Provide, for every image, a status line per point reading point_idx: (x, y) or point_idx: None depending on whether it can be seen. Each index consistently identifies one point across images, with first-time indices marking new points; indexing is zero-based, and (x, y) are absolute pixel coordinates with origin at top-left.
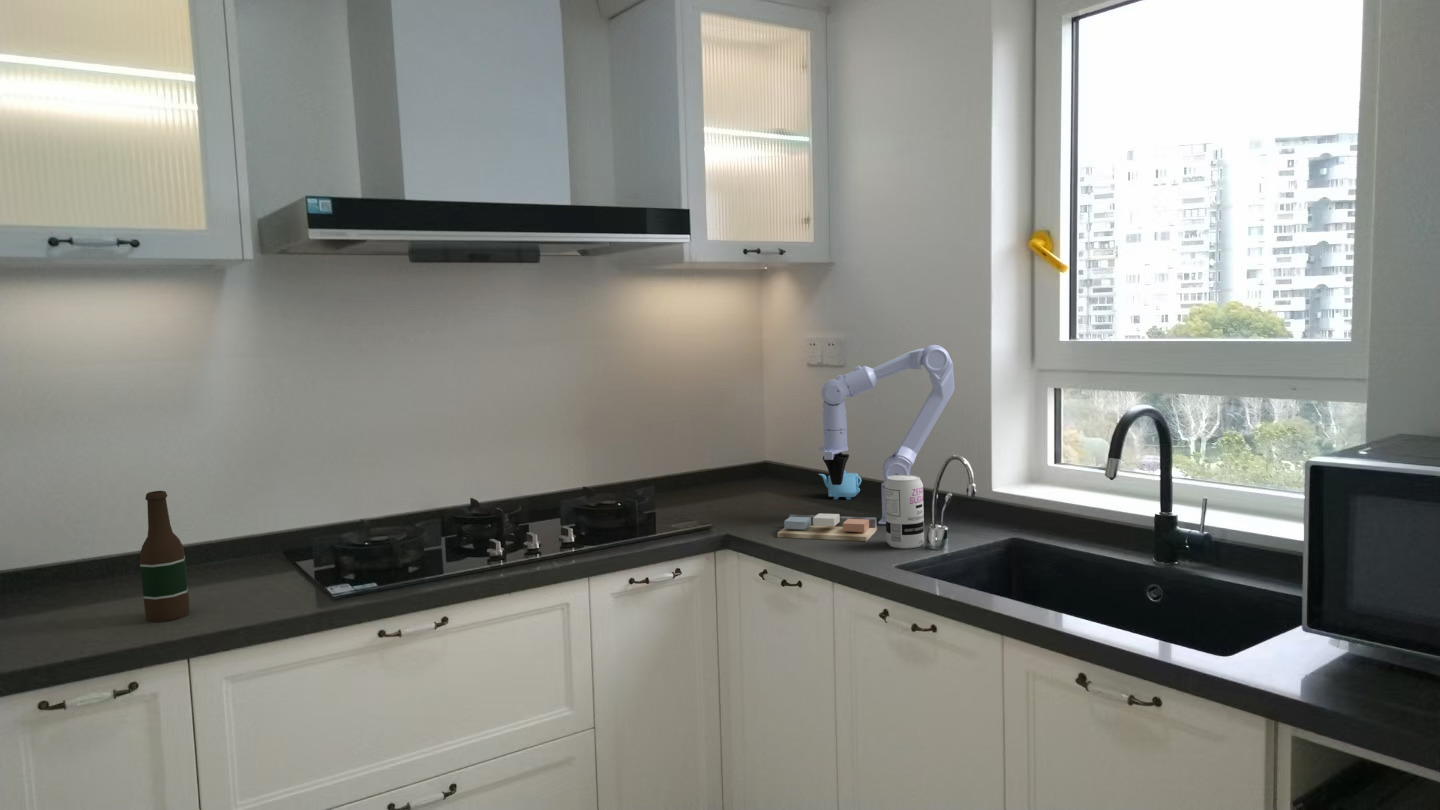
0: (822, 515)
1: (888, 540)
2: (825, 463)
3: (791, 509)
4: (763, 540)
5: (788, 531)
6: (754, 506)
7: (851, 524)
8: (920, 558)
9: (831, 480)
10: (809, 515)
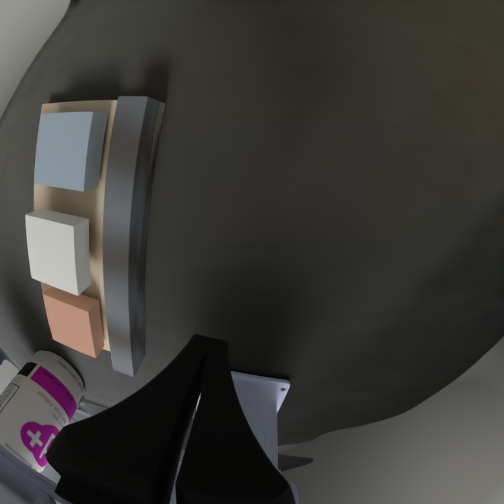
0: (51, 242)
1: (35, 354)
2: (89, 417)
3: (449, 103)
4: (31, 84)
5: None
6: (468, 15)
7: (47, 312)
8: (19, 367)
9: (183, 348)
10: (128, 177)
